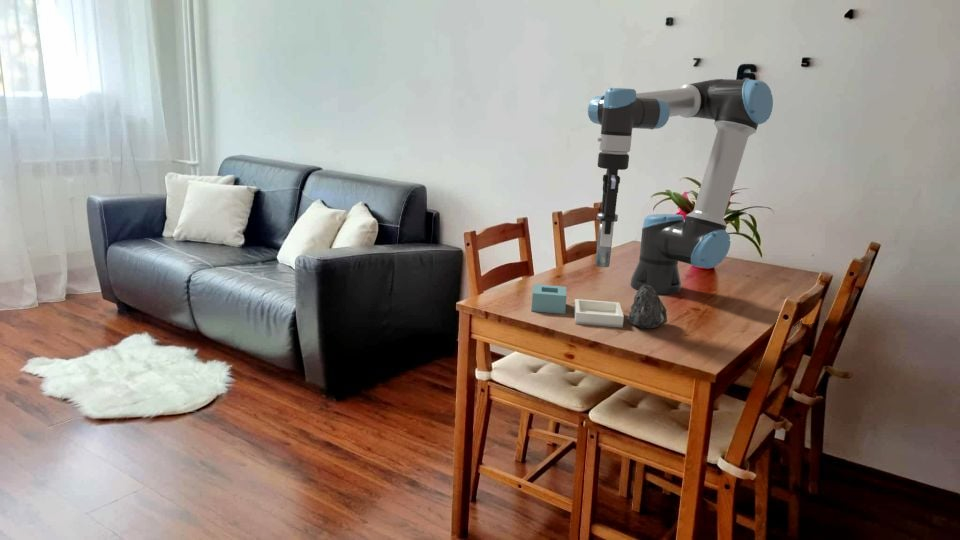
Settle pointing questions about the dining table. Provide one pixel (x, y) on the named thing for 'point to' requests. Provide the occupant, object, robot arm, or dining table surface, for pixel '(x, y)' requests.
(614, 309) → the tray
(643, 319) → the rock
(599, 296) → the dining table surface
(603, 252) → the pin
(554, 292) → the socket block
